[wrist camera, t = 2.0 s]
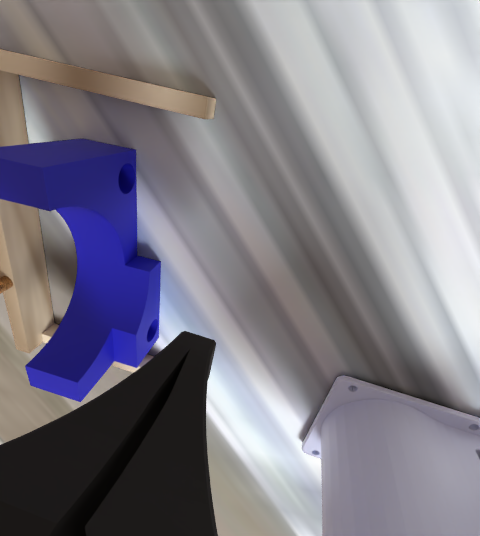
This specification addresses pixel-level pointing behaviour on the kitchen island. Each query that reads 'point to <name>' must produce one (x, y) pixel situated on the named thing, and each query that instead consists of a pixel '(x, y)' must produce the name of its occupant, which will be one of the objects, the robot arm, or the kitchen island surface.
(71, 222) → the blue pipe clamp half
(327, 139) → the kitchen island surface
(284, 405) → the kitchen island surface
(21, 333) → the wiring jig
